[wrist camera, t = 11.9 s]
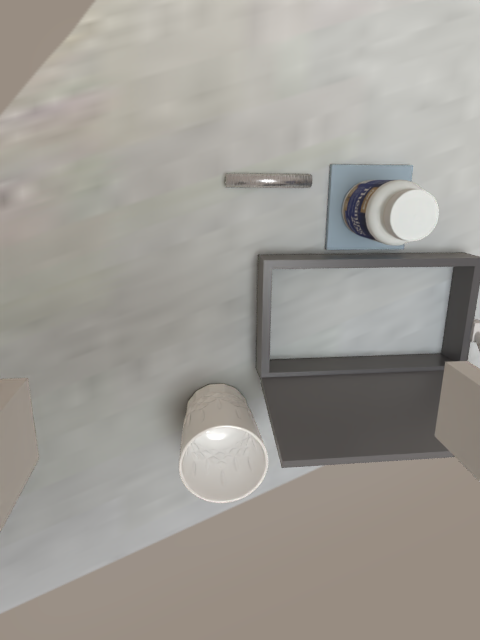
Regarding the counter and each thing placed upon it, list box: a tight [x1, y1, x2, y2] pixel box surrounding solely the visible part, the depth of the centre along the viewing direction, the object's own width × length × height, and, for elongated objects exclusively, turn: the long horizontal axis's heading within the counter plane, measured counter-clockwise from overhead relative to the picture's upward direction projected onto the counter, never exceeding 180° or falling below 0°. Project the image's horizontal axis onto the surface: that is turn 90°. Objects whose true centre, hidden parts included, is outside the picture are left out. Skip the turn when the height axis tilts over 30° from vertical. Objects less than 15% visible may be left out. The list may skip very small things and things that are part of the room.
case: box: [256, 253, 480, 468], centre depth 42 cm, size 22×15×14 cm, turn 90°
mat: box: [325, 165, 413, 250], centre depth 45 cm, size 8×8×1 cm
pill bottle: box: [342, 180, 439, 246], centre depth 40 cm, size 5×5×10 cm
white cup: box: [179, 384, 268, 503], centre depth 45 cm, size 8×8×10 cm
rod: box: [226, 174, 312, 188], centre depth 43 cm, size 8×1×1 cm, turn 90°
